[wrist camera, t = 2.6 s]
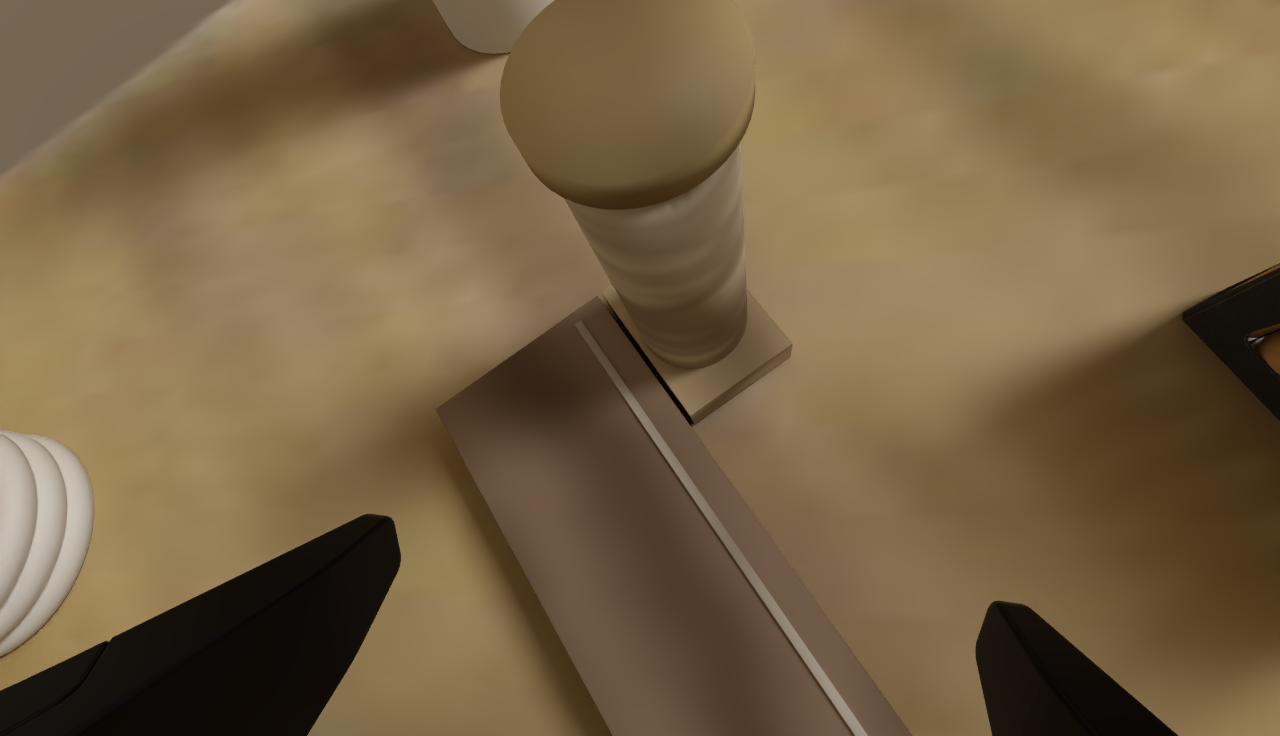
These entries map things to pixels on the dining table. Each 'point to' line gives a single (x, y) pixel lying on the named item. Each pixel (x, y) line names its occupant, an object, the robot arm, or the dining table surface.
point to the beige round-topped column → (653, 174)
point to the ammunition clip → (1245, 332)
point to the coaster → (39, 531)
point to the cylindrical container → (489, 21)
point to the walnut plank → (650, 550)
